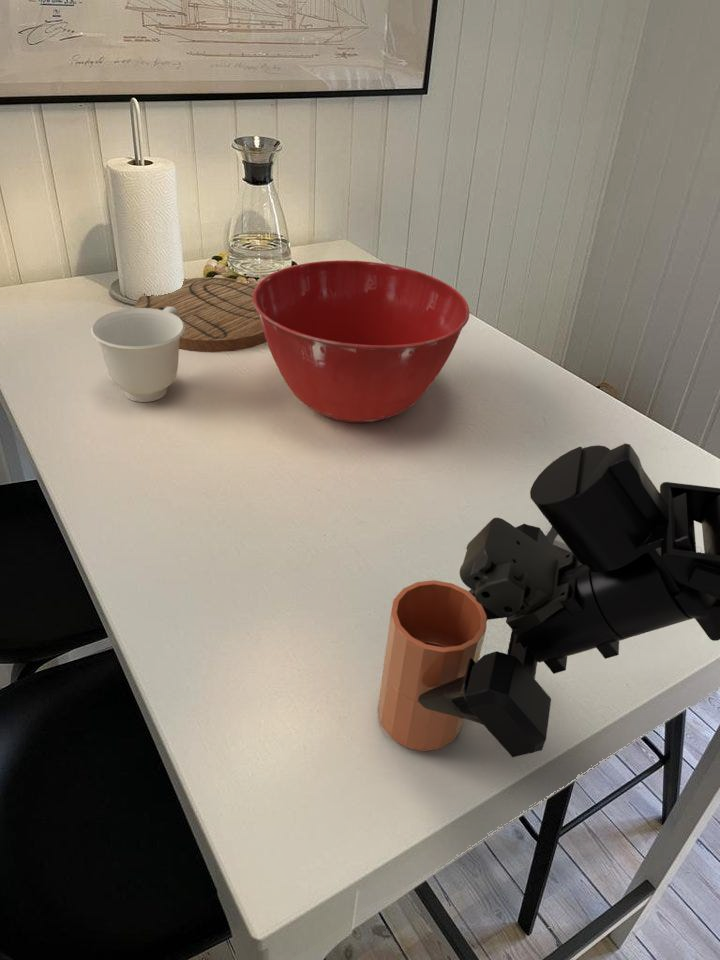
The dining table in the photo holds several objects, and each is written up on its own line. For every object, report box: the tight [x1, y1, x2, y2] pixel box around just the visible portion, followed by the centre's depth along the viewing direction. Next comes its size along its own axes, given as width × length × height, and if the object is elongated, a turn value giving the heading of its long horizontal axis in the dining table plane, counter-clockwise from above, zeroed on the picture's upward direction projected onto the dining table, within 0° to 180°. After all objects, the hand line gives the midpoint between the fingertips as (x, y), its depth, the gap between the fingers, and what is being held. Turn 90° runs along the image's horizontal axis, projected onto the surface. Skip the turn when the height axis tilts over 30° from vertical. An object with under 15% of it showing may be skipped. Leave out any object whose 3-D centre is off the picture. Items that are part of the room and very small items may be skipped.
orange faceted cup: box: [377, 579, 488, 752], centre depth 62 cm, size 7×7×13 cm
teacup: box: [90, 307, 185, 403], centre depth 104 cm, size 12×15×10 cm
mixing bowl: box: [253, 259, 470, 424], centre depth 104 cm, size 28×28×16 cm
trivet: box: [134, 276, 267, 353], centre depth 126 cm, size 25×25×2 cm
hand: (434, 657), depth 61 cm, fingers open, 9 cm apart
